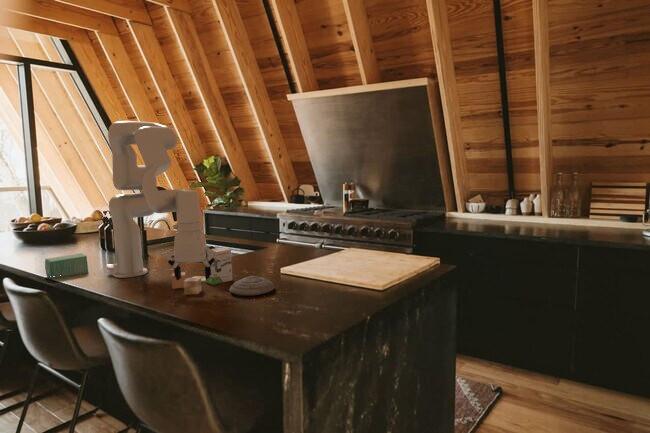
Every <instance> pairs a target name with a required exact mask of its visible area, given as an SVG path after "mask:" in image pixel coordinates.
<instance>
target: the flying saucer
mask: <svg viewBox="0 0 650 433" xmlns="http://www.w3.org/2000/svg"><path fill="white" fill-rule="evenodd" d="M275 287H276V286H275V285H274V283H273V282H272V281H271V280H269V279H268V278H265V277H261V276H256V275H251V276H247V277H246V276H245V277H244V278H240V279H238V280H237V281H234V282H233V284H231V286H230V288H229V290H228V291H229V292H230V293H231V294H234V295H237V296H249V297H250V296H252V297H253V296H259V295H264V294H267V293H270V292H272V291H274V290H275Z"/></svg>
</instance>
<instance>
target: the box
mask: <svg viewBox="0 0 650 433" xmlns="http://www.w3.org/2000/svg"><path fill="white" fill-rule="evenodd" d="M44 269H45V274H46V277H48V278H49V279H51V280H58V279H59V280H60V279H64V278H68V277H69V278H71V277H74V276H80V275H84V274H89V266H88V257H87V255H86V254H83V253H74V254H67V255H63V256H56V257H50V258H49V257H48V258H45V260H44ZM60 275H61V276H60ZM50 276H51V277H50ZM53 276H55V277H53Z"/></svg>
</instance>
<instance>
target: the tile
mask: <svg viewBox="0 0 650 433" xmlns="http://www.w3.org/2000/svg"><path fill="white" fill-rule="evenodd" d="M191 278H201V283H206V279H205V275H202V276H201V275H199V276H192V277H191Z"/></svg>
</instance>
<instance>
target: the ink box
mask: <svg viewBox="0 0 650 433" xmlns="http://www.w3.org/2000/svg"><path fill="white" fill-rule="evenodd" d="M210 249H211V248H210ZM211 250H213V251H216V252H218V255H217V257H216V259H215V261H214V262H213V263H212V264H211V276H210V277H209V278H208V279H206V278H205V279H206V282H205V283H206V284H210V285H218V284H222V283H226V282H230V281H233V266H232V249H230V248H228V247H227V248H226V247H219V248H212V249H211ZM207 258H208V259H209V260H211V259H212V255H211V254H209V253H208V257H207ZM205 267H206V265H205V264H204V268H205Z"/></svg>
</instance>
